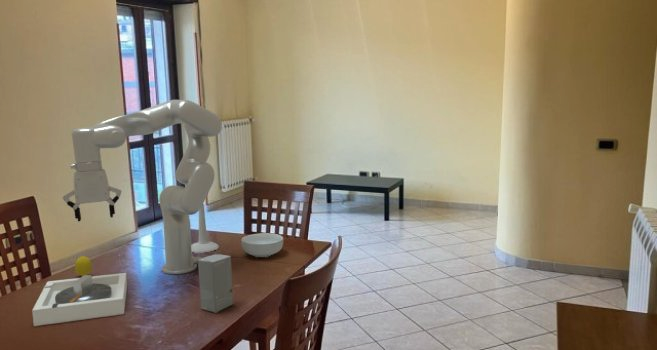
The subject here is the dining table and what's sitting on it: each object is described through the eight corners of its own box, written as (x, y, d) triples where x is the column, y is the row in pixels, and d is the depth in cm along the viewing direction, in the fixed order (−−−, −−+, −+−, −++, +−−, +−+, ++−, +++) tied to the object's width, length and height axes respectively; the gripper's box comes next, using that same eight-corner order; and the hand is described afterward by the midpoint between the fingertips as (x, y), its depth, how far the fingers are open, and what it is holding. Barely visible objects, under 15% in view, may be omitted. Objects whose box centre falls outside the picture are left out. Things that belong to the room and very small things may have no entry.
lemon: (86, 280, 185) (84, 258, 183) (72, 279, 186) (70, 257, 184) (95, 274, 190) (94, 253, 189) (82, 273, 191) (80, 252, 190)
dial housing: (127, 286, 179) (125, 271, 178) (123, 314, 156) (122, 297, 155) (48, 295, 171) (47, 280, 170) (33, 326, 148) (31, 309, 148)
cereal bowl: (291, 252, 214) (291, 236, 213) (266, 264, 200) (265, 246, 199) (259, 246, 223) (259, 230, 222) (233, 256, 209) (232, 239, 208)
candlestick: (194, 243, 228) (191, 176, 223) (223, 244, 226) (220, 176, 221) (182, 252, 215) (178, 181, 210) (212, 253, 213) (209, 181, 209)
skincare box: (215, 314, 156) (213, 263, 153) (198, 308, 159) (196, 259, 157) (234, 304, 163) (233, 255, 160) (218, 299, 166) (215, 251, 164)
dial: (71, 287, 171) (70, 270, 170) (120, 287, 171) (118, 270, 170) (44, 307, 155) (42, 288, 154) (97, 307, 155) (96, 288, 154)
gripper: (57, 171, 159) (65, 225, 163) (118, 165, 165) (124, 217, 168) (60, 167, 166) (67, 219, 169) (118, 162, 172) (124, 212, 175)
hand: (95, 218), depth 169 cm, fingers open, 9 cm apart
